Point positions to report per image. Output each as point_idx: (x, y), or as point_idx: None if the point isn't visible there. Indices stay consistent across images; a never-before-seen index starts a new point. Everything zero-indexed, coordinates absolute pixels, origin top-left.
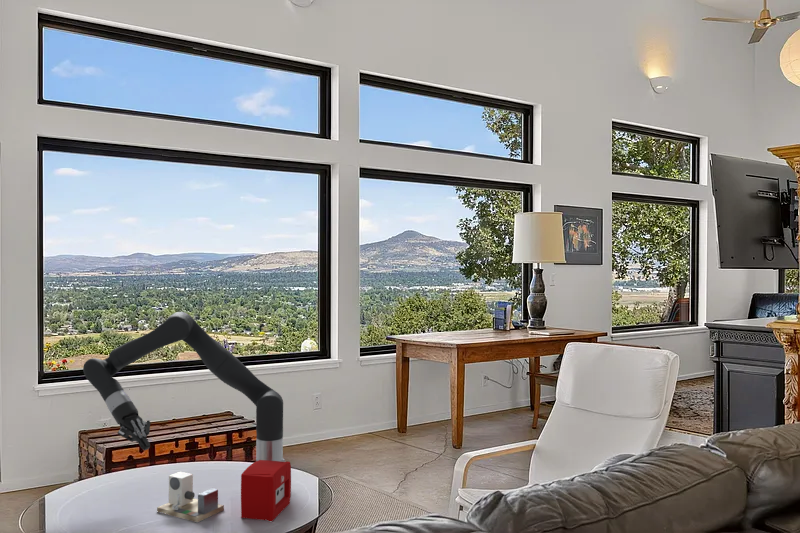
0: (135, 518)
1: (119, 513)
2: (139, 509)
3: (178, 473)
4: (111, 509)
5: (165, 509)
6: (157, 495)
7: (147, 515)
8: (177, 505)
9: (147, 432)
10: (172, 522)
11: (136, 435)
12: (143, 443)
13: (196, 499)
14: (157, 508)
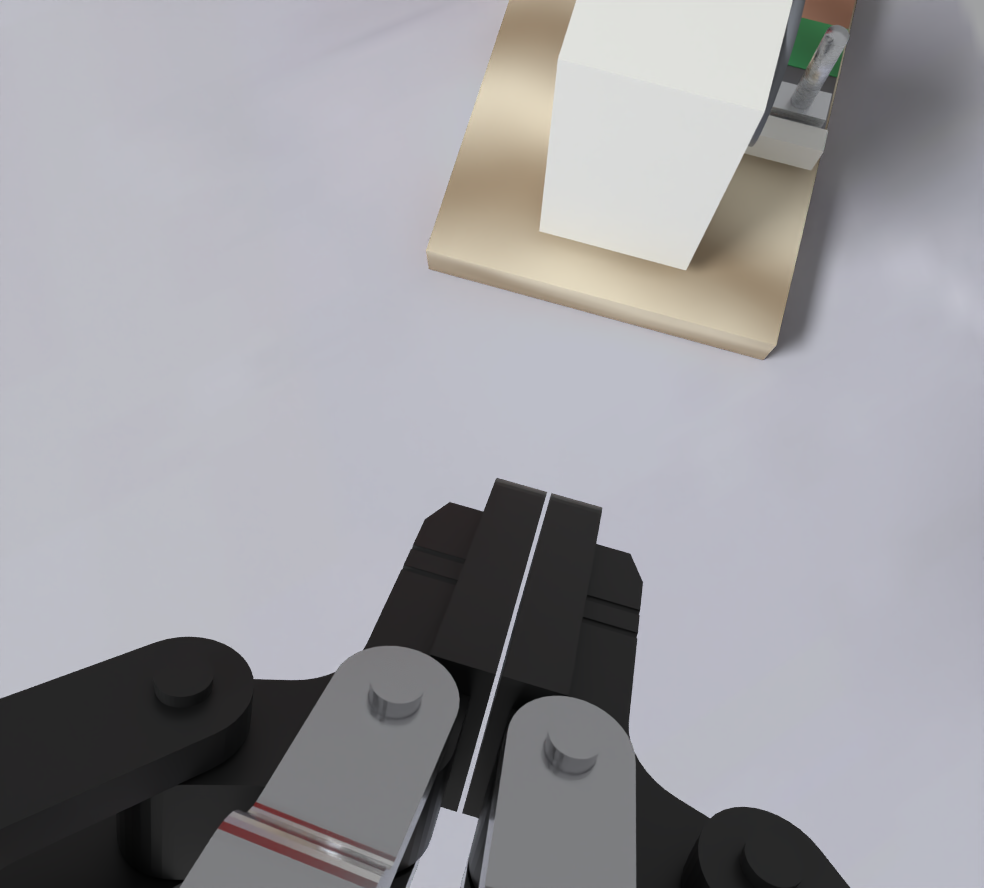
0: (960, 467)
1: (905, 687)
2: (752, 553)
3: (640, 41)
4: (839, 835)
5: (797, 248)
6: (351, 585)
7: (860, 402)
8: (825, 97)
9: (205, 682)
10: (927, 129)
11: (717, 862)
12: (598, 613)
13: (485, 106)
14: (775, 343)
